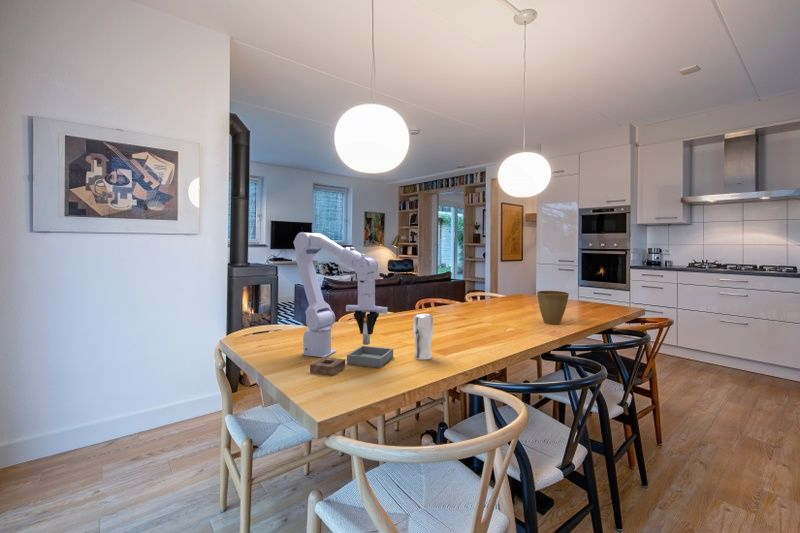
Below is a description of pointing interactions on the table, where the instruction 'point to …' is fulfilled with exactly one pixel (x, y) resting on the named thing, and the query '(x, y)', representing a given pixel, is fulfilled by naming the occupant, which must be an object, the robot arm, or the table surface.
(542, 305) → the plant pot
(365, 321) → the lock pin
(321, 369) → the block
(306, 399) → the table surface
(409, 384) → the table surface
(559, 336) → the table surface
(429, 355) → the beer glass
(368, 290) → the robot arm
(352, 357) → the tray
